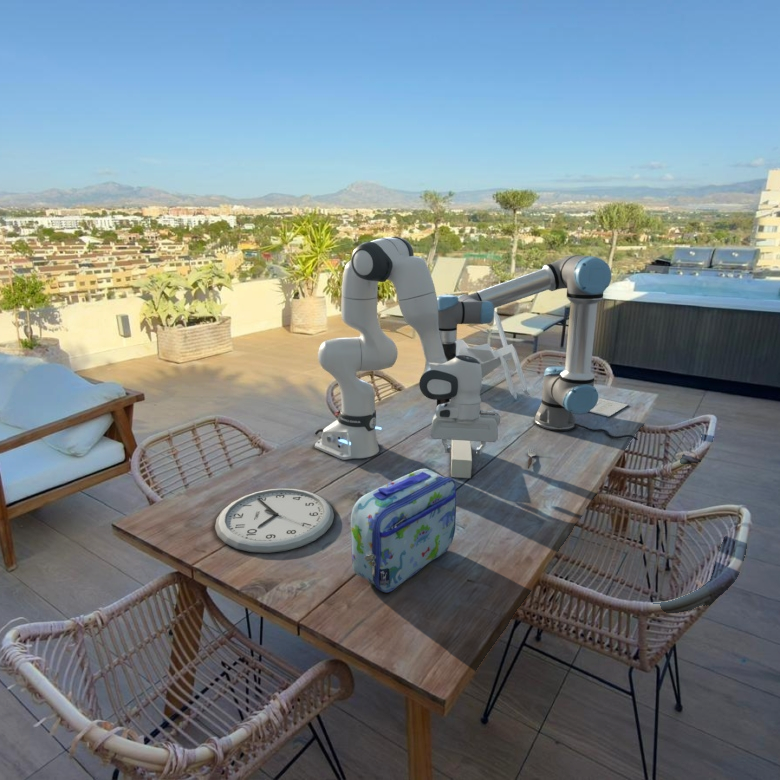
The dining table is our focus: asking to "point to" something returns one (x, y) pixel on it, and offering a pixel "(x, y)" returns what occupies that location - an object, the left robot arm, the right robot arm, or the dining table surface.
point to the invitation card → (607, 407)
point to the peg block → (461, 459)
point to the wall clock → (274, 520)
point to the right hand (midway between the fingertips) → (443, 407)
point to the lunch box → (402, 527)
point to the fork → (531, 456)
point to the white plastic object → (495, 357)
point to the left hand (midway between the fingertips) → (463, 453)
